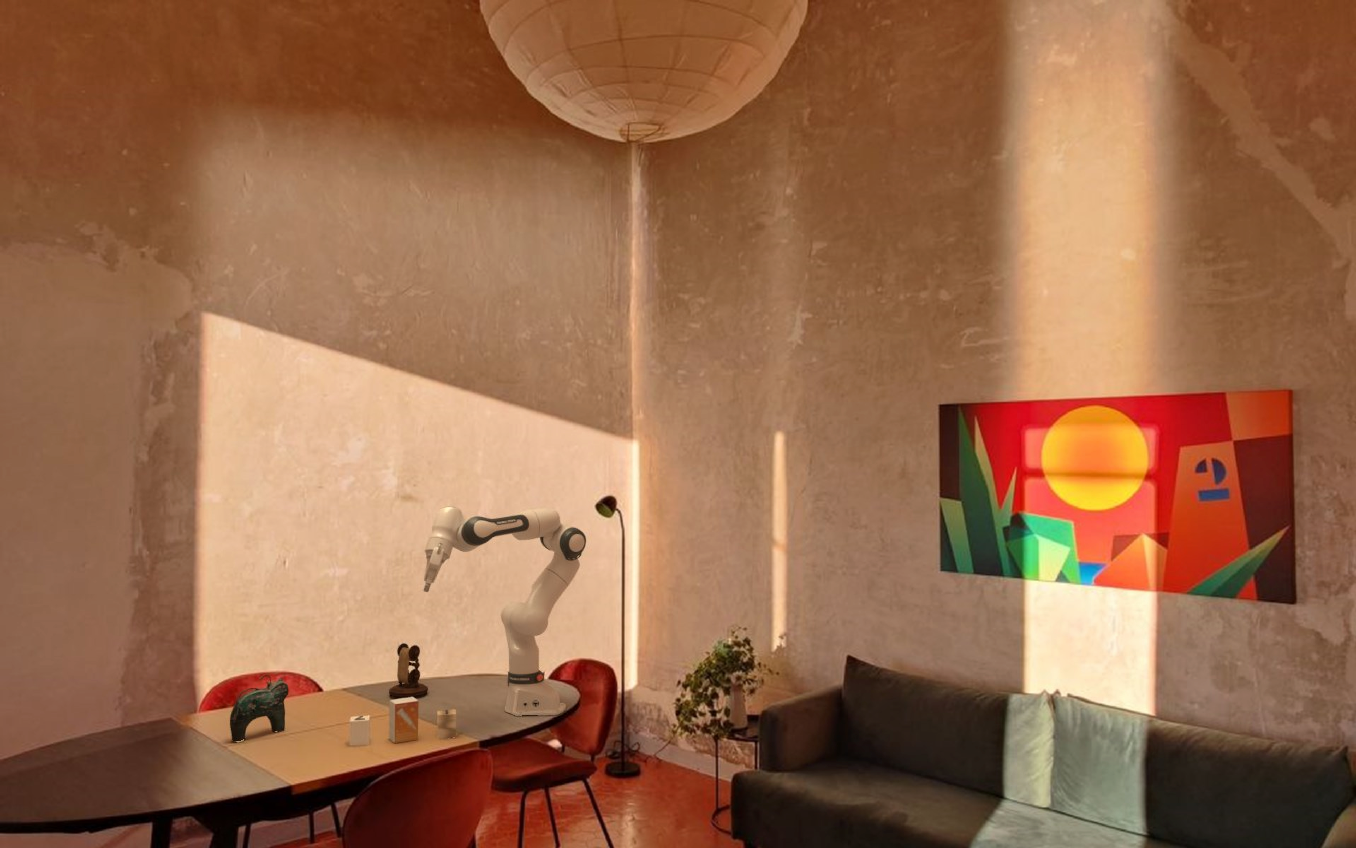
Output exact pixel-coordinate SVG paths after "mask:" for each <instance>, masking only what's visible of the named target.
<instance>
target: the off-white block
mask: <svg viewBox="0 0 1356 848" xmlns="http://www.w3.org/2000/svg"><path fill="white" fill-rule="evenodd" d="M370 716H371V715H369V714H367V715H358V716H355V715H354V716H350V719H349V747H355V746H369V745H370V741H371V736H370V735H371V734H370V731H371V723H370V722H371V717H370Z"/></svg>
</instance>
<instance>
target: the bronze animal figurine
mask: <svg viewBox="0 0 1356 848" xmlns="http://www.w3.org/2000/svg"><path fill="white" fill-rule="evenodd" d="M264 677H268V678H269V681H265V683H266V684H267V686H266V687H264V688H257V687H250V688H246V689H244V690H243V691H241V692H239V694H238V696H237V697H236V700H235V703H234V705H233V707H232V710H231V711H230V716H229V728H230V734H231V741H232V740H233V741H241V740H243V739H245V740H246V732H247V728H248V727H249V725H250V723H252V722H253V721H254V720H256V719H259V718H263V717H267V719H268V720H269V723H270V727H271V732H273V731H280V732H282V731H281V730H284V729H286V728H285V727H286V720H285V719H286V718H285V717H286V708H285V707H286V706H285V700H286V698H287V697H288V695H289V691H290V690H289V685H288V684H287V683H286V682H285V681H284V680H283V678H282V676H279V679H277V680H275V681H272V679H271V676H270V675H268V674H264V675H262V676H261V677H260V678H259V680H260V681H262V679H263V678H264ZM249 690H250V691H249ZM251 690H252V691H251ZM248 691H249V692H248ZM245 692H247V693H245ZM284 731H285V730H284Z"/></svg>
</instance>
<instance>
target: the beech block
mask: <svg viewBox="0 0 1356 848" xmlns="http://www.w3.org/2000/svg"><path fill="white" fill-rule="evenodd" d="M436 711H437V712H436V714H437V715H436V720H437V721H436V725H437V726H436V729H437V730H436V731H437V732H436V733H437V740H447V739H448V738H450V739H454V738H453V737H456V738H457V710H456V709H455V708H454V709H444V710H436Z"/></svg>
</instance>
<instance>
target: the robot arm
mask: <svg viewBox="0 0 1356 848" xmlns="http://www.w3.org/2000/svg"><path fill="white" fill-rule="evenodd" d="M507 535H512V537H514V538H515V539H516V540H519V541H529V540H535V539H539V541H540V543H541V544H542V546H543V547H544V548H545V549H547V550H548V551H550V552H553V555H552V559H551V561H550V562H549V564H548V565H547V566H546V567H545V568H544V569H543V570H542V572H541V573H540V574H539V575H538V576H537V578H536V580H535V581H534V582H533V584H532V585H531V590H530V593H529V596H528V598H527V599H526V601H525V602H522V601H513V602H509V603H507V604H506V605H505V606H504V607H503V608H502V610H501V613H500V619H501V622H502V624H503V627H504V630H505V631H504V633H505V637H506V641H507V648H508V671H507V682H506V683H507V688H508V689H507V698H506V701H505V707H504V712H506V713H509V714H511V715H513V716H514V715H515V716H514V717H523V716H522V715H538V716H557V715H559V714H562V713H563V712H564V711H565V710H566V708H567V707H566V704H565V703H564V702H561V699H560V694H559V692H558V690H557V689H556V688H555V687H553V686H552V685H551V684H549V683H548V682H546V681H545V675H546V674H545V671H541V670H540V648H539V646H538V645H537V642H536V638H535V637H537V636H541V635H543V633H545V631H546V630H547V628H548V625H549V617H550V614H551V612H552V611H553V608H554V607H555V604H556V603H557V602H558V600H559V599H560V598H561V596H562V595H563V594H564V592H565V591H566V589H568V587H569V586H570V584H571V583H572V581H573V580H574V578H575V577H576V575H577V573H578V571H579V569H580V565H581V564H580V560H579V558H580V557H581V556H582V554H583V552H584V551H585V549H586V545H587V537H586V534H585V533H584V532H583V531H582V530H581V529H579V528H578V527H574V526H571V525H570V524H563V523H561V516H560V513H558V511H557V510H556V509H554V508H551V507H537V508H531V509H526V510H525V509H524V510H522V511H518V512H517V513H514V514H512V515H510V516H504V517H496V518H488V517H484V516H481V515H480V516H479V515H478V516H477V515H476V516H473V517H470V518H469V519H467V518H466V516H465V515H464V514H463V512H462V510H461V509H460V508H458V507H455V506H445V507H442V508H441V509H439V510H438V512H437V514H436V516H435V517H434V521H433V524H432V527H431V534H430V535H429V536H428V540H427V542H426V546H425V550H424V553H425V555H426V558H425V559H426V566H425V570H424V576H423V581H425V582H424V587H423V591H424V592H426V593H429V591H430V589H431V586H432V584H434V582H435V581H436V579H437V577H438V574H439V572H440V570H441V567H442V565H443V564H445V562H446V561H447V560H449V559H450V558H451V556H452V555H451V554H452V551H453V548H454V549H457V550H459V551H460V552H463V553H466V552H467V553H468V552H471V551H473V550H475V549H477V548H479V547H480V546H483V545H484V544H487V543H488V542H489V541H490V540H492V539H493V538H495V537H500V536H507Z"/></svg>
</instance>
